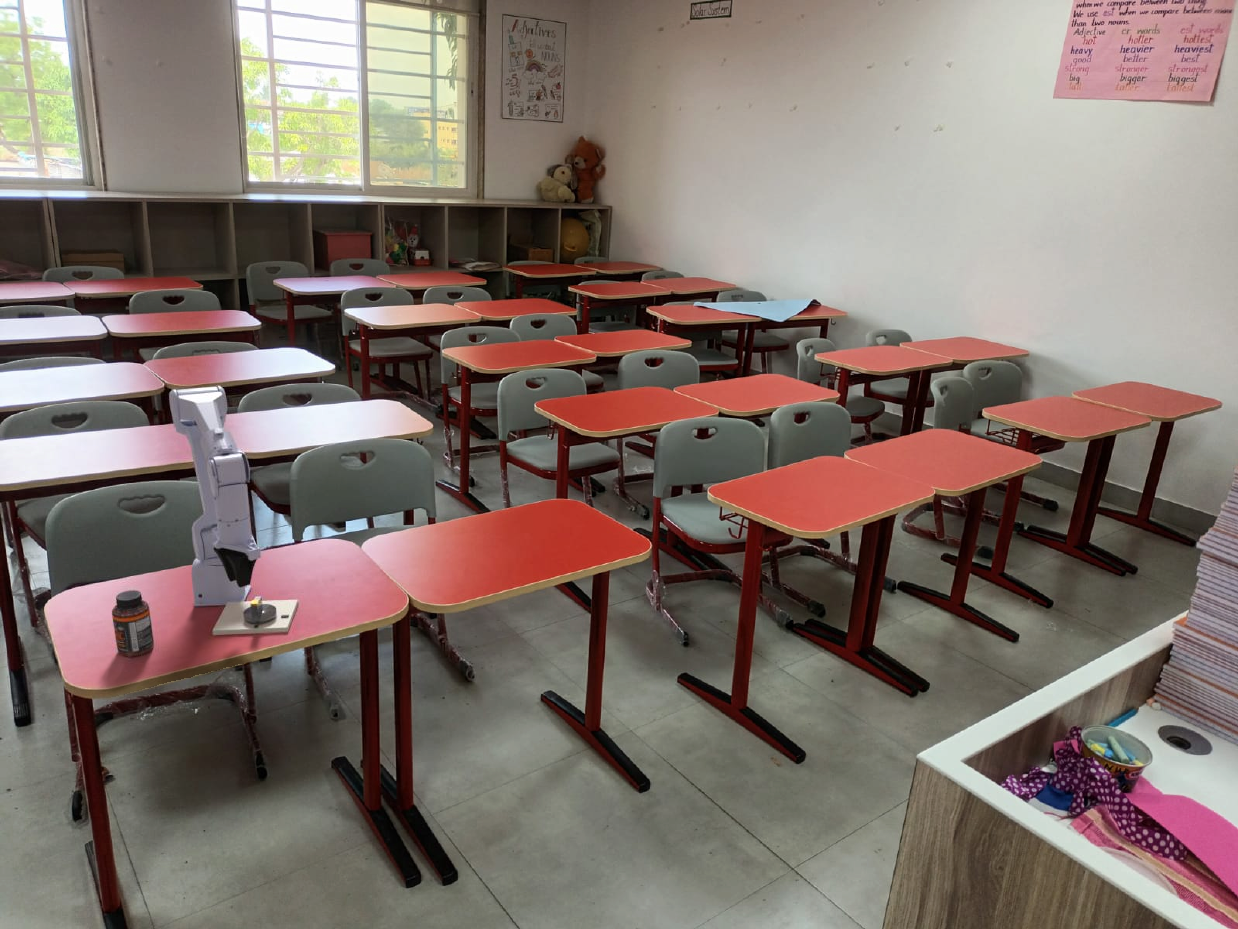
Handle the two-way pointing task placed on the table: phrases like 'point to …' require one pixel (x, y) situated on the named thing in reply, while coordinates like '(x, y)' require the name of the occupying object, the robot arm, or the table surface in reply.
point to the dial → (259, 612)
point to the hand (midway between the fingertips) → (239, 582)
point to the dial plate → (235, 624)
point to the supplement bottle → (132, 624)
